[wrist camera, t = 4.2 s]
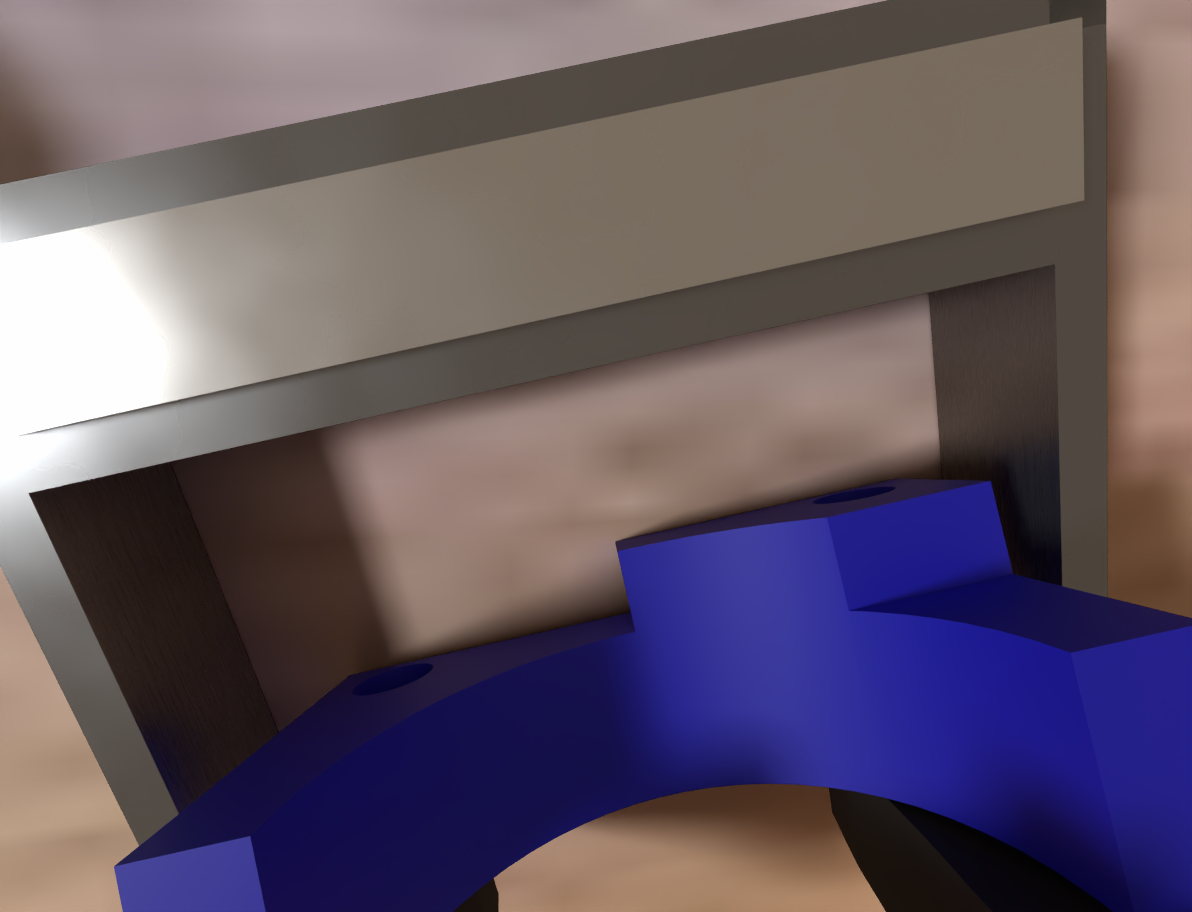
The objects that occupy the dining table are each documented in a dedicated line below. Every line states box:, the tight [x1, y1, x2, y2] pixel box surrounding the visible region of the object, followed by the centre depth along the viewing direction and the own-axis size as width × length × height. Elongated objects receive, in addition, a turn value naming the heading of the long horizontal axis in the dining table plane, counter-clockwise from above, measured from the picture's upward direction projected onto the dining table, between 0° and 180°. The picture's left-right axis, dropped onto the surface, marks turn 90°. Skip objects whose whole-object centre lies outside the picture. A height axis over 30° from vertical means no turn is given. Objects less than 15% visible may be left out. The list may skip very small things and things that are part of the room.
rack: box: [0, 0, 1108, 846], centre depth 10 cm, size 11×17×4 cm
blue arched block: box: [114, 479, 1192, 912], centre depth 9 cm, size 12×4×6 cm, turn 102°
